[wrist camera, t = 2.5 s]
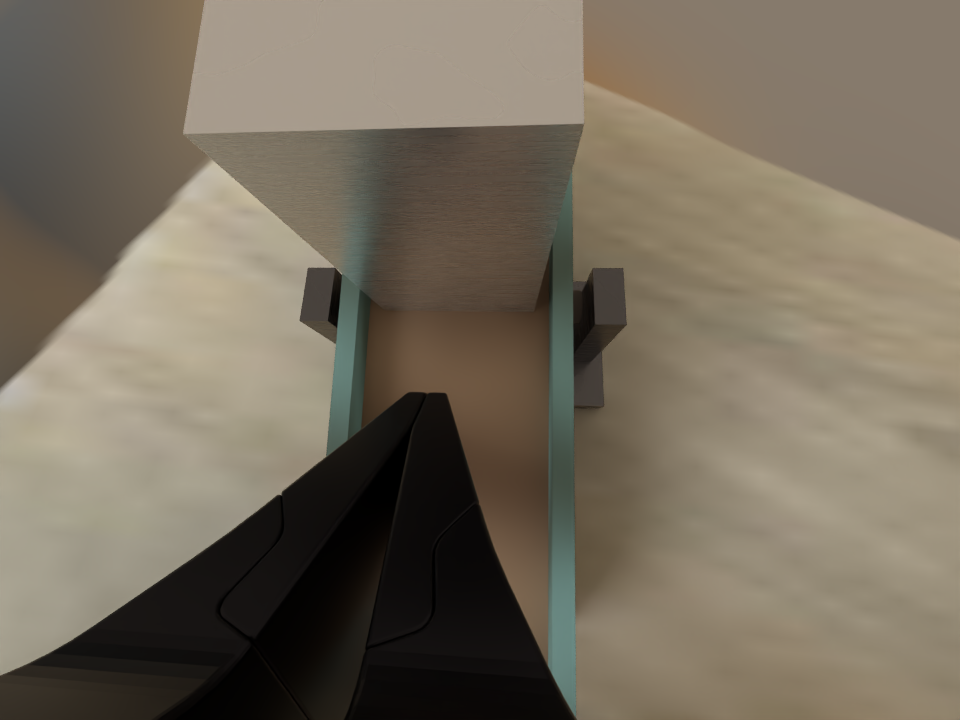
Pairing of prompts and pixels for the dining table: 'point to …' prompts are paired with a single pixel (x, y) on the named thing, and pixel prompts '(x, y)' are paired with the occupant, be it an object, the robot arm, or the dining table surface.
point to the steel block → (401, 135)
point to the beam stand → (589, 336)
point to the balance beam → (490, 423)
